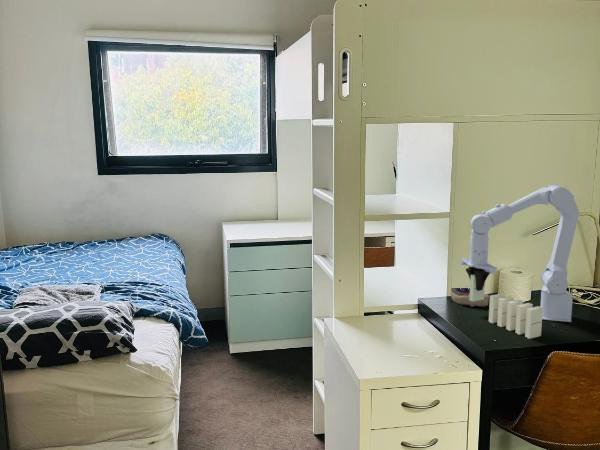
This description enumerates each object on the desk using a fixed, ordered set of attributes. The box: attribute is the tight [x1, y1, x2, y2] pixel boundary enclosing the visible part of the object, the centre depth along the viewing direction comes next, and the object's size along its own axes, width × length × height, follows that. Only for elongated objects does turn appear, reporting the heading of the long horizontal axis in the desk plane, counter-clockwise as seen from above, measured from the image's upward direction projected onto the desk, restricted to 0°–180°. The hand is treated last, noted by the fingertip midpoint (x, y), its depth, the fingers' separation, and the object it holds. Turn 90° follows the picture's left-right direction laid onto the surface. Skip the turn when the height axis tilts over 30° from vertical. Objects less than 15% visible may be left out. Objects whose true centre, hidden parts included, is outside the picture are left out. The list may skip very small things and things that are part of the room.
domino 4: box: [505, 299, 524, 332], centre depth 173 cm, size 2×5×9 cm, turn 116°
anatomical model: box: [450, 287, 490, 308], centre depth 201 cm, size 12×16×5 cm
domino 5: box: [515, 302, 534, 335], centre depth 170 cm, size 2×5×9 cm, turn 116°
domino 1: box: [469, 274, 486, 301], centre depth 187 cm, size 2×5×9 cm, turn 116°
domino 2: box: [488, 293, 506, 324], centre depth 180 cm, size 2×5×9 cm, turn 117°
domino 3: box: [496, 296, 515, 328], centre depth 177 cm, size 2×5×9 cm, turn 116°
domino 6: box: [524, 305, 543, 340], centre depth 167 cm, size 2×5×9 cm, turn 116°
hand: (477, 289), depth 187 cm, fingers closed on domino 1, 2 cm apart
